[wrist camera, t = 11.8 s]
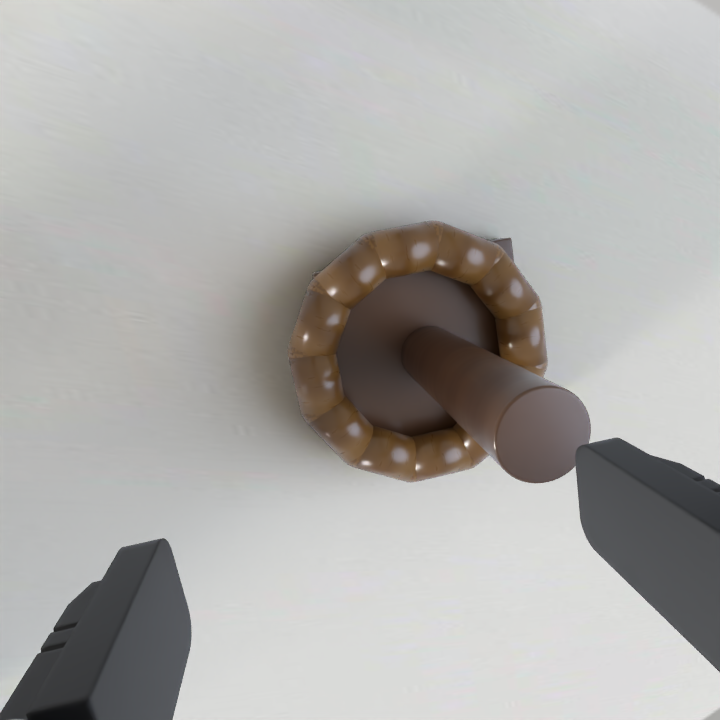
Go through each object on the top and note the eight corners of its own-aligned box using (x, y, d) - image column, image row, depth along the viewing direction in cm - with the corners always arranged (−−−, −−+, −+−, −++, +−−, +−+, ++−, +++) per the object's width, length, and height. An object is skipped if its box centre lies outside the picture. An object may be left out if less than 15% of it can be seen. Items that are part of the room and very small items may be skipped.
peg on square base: (312, 272, 23) (335, 291, 12) (501, 238, 24) (703, 223, 12) (347, 455, 25) (397, 631, 14) (521, 418, 26) (710, 552, 14)
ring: (266, 252, 22) (264, 251, 20) (517, 204, 23) (539, 199, 21) (319, 491, 24) (322, 512, 22) (544, 439, 25) (565, 454, 23)
